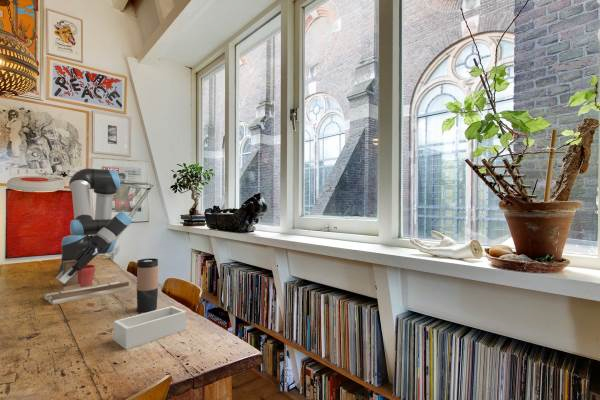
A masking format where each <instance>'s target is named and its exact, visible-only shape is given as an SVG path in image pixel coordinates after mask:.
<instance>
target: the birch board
mask: <svg viewBox="0 0 600 400" xmlns="http://www.w3.org/2000/svg"><path fill="white" fill-rule="evenodd" d="M129 283H130V282H129V281H125V282H120V281H117V280H115V281H110V282H105V283H104V282H103V283H99V284H94V285H92V284H91V285H90V286H87V287H80V288H77V289H72V290H66V291H63V290H59V291H53V292H47V293H44V294H43V296H44V297H43V298H44V300H46V301H47V302H48V303H50V304H51V305H52V306H55V305H59V304H65V303H71V302H75V301H79V300H86V299H90V298H95V297H101V296H105V295H111V294H115V293H120V292H126V291H129V290H130V288H129V287H130V284H129Z"/></svg>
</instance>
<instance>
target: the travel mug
mask: <svg viewBox="0 0 600 400" xmlns="http://www.w3.org/2000/svg"><path fill="white" fill-rule="evenodd" d="M136 267H137V268H136V269H137V270H136V271H137V272H136V275H137V276H136V310H137V312H138V313H140V314H143V313H147V312H151V311H155V310H158V309H157V308H158V293H159V291H158V290H159V259H158V258H152V257H151V258H150V257H149V258H142V259H138V260H137V266H136Z"/></svg>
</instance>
